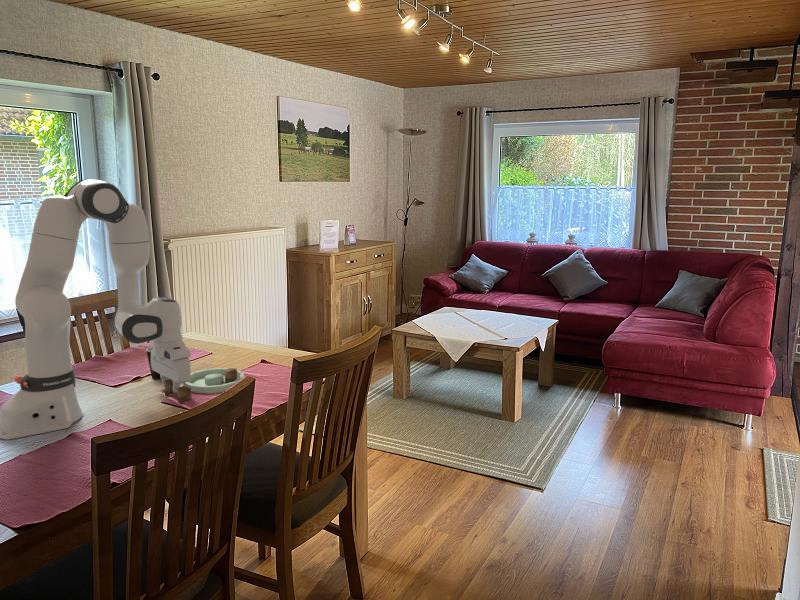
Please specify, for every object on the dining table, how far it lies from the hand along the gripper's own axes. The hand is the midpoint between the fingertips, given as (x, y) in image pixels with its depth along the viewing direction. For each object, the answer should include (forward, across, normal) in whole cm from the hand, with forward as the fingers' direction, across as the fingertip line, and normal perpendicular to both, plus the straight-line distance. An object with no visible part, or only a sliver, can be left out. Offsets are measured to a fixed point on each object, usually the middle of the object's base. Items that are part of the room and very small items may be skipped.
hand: (171, 389), depth 200 cm
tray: (+2, +2, +14) cm, 14 cm away
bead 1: (+2, 0, 0) cm, 2 cm away
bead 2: (+2, +9, 0) cm, 9 cm away
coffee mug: (+2, -20, +7) cm, 21 cm away
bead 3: (+1, +6, +18) cm, 19 cm away
